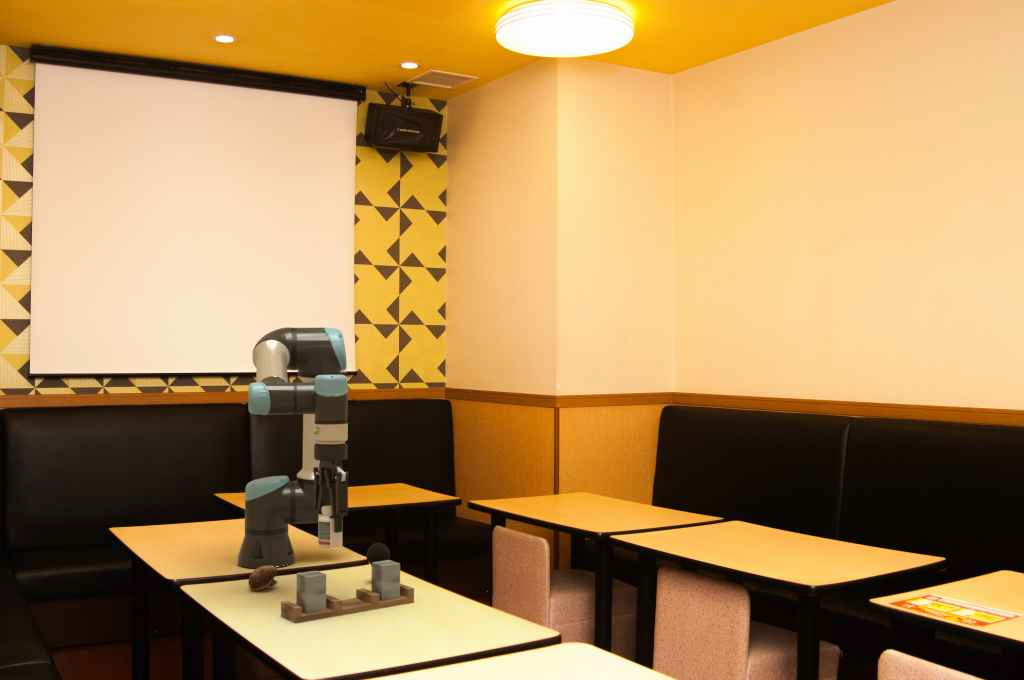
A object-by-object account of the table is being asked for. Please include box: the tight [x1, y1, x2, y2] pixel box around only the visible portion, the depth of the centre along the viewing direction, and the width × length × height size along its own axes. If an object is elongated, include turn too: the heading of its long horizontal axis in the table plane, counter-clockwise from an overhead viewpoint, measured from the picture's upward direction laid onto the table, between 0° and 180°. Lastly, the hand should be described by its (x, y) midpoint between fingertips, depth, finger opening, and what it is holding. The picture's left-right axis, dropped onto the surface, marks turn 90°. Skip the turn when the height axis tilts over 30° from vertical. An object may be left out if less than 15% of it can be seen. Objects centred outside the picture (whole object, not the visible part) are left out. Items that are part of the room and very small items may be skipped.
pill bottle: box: [318, 506, 332, 549], centre depth 229 cm, size 5×5×9 cm
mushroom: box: [248, 566, 279, 592], centre depth 246 cm, size 8×8×6 cm
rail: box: [280, 559, 415, 624], centre depth 228 cm, size 7×30×9 cm, turn 128°
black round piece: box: [366, 542, 391, 568], centre depth 253 cm, size 6×6×10 cm
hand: (330, 544), depth 229 cm, fingers closed on pill bottle, 5 cm apart
